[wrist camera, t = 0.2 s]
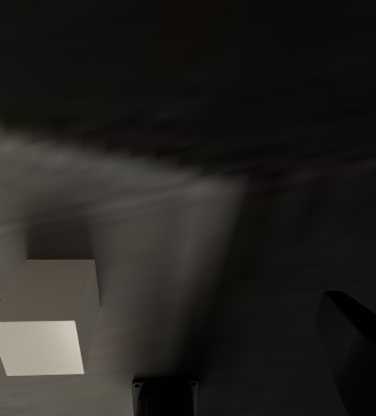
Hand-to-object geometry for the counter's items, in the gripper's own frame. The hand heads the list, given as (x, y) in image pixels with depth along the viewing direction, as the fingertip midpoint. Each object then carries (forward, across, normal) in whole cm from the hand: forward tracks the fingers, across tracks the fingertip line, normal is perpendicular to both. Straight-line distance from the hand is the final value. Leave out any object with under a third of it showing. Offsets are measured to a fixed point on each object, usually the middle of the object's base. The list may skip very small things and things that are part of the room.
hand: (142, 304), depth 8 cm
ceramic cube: (+14, +7, +12) cm, 20 cm away
